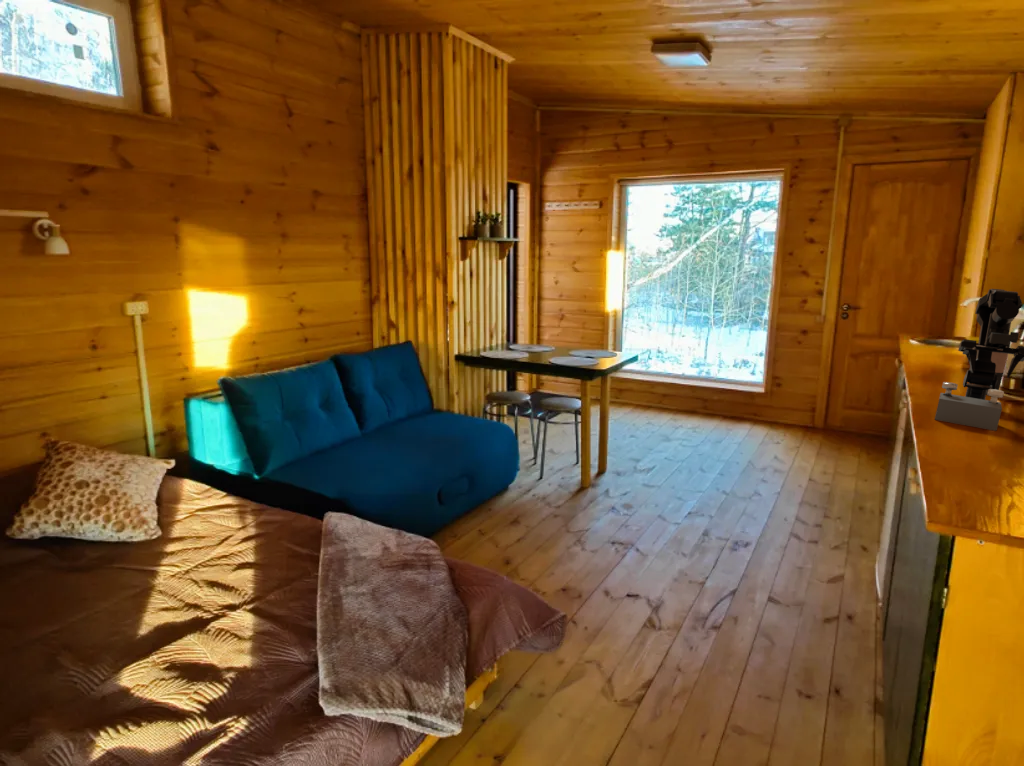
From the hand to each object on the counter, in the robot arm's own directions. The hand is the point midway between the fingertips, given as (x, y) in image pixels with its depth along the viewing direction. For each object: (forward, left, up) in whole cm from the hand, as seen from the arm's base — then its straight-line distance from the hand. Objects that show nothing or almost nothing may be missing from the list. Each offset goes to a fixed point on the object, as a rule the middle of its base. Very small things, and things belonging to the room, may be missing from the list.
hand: (990, 375), depth 205 cm
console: (+8, -4, -15) cm, 17 cm away
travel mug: (-49, +2, -15) cm, 51 cm away
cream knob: (+5, +2, -8) cm, 10 cm away
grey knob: (+5, -10, -8) cm, 14 cm away
